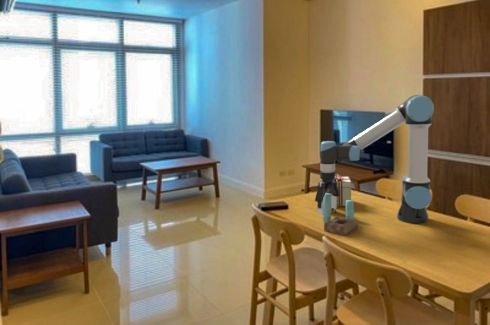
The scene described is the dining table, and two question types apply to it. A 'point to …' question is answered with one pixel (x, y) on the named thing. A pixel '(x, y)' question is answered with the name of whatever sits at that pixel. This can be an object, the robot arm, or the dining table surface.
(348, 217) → the short dowel
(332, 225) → the walnut block
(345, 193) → the gift box
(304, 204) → the dining table surface
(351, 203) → the medium dowel
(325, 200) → the long dowel
